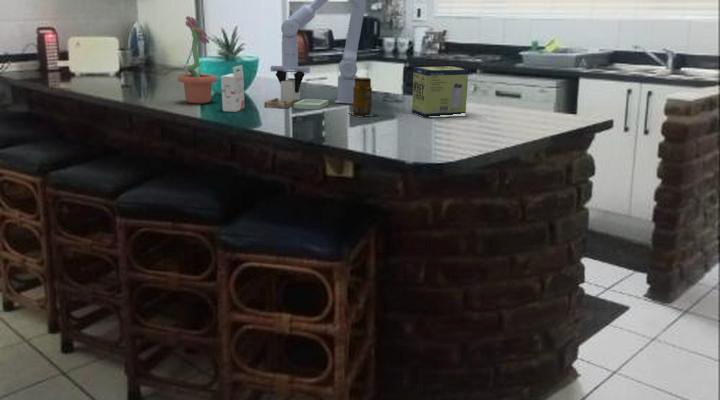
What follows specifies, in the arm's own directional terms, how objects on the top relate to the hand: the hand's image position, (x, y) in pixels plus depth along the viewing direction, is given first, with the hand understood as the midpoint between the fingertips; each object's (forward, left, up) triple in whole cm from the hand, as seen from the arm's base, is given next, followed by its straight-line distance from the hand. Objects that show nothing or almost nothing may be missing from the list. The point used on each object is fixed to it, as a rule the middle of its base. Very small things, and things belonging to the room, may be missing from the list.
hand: (290, 92), depth 234 cm
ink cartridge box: (+12, +23, -4) cm, 27 cm away
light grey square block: (0, 0, -3) cm, 3 cm away
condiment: (-32, +18, -4) cm, 37 cm away
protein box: (-56, +9, -4) cm, 57 cm away
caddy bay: (0, +9, -4) cm, 10 cm away
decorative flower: (+30, +13, -4) cm, 33 cm away
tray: (-10, +7, -4) cm, 13 cm away
